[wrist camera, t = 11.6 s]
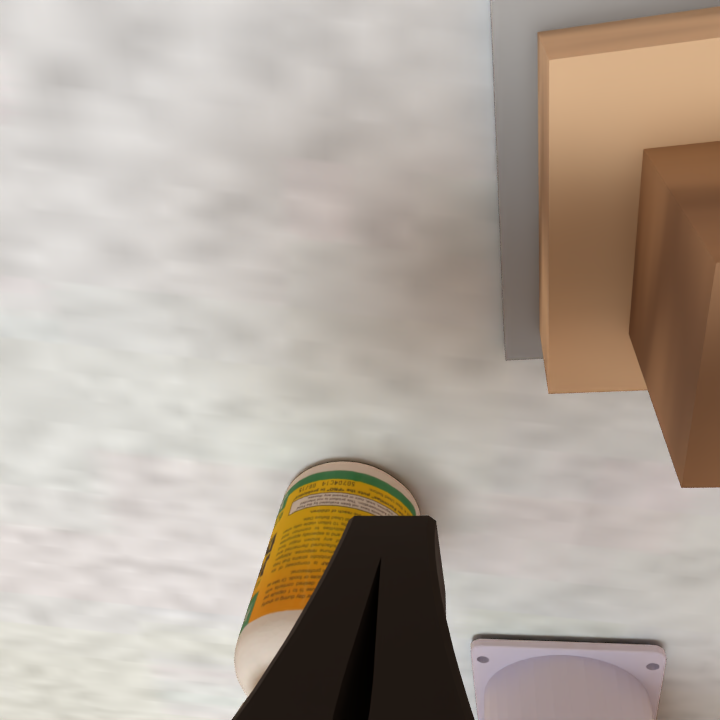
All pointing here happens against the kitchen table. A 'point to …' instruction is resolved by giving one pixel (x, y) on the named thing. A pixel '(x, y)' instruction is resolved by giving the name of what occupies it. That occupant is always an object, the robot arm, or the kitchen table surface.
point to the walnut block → (681, 303)
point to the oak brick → (609, 175)
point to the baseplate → (535, 140)
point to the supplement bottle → (308, 552)
